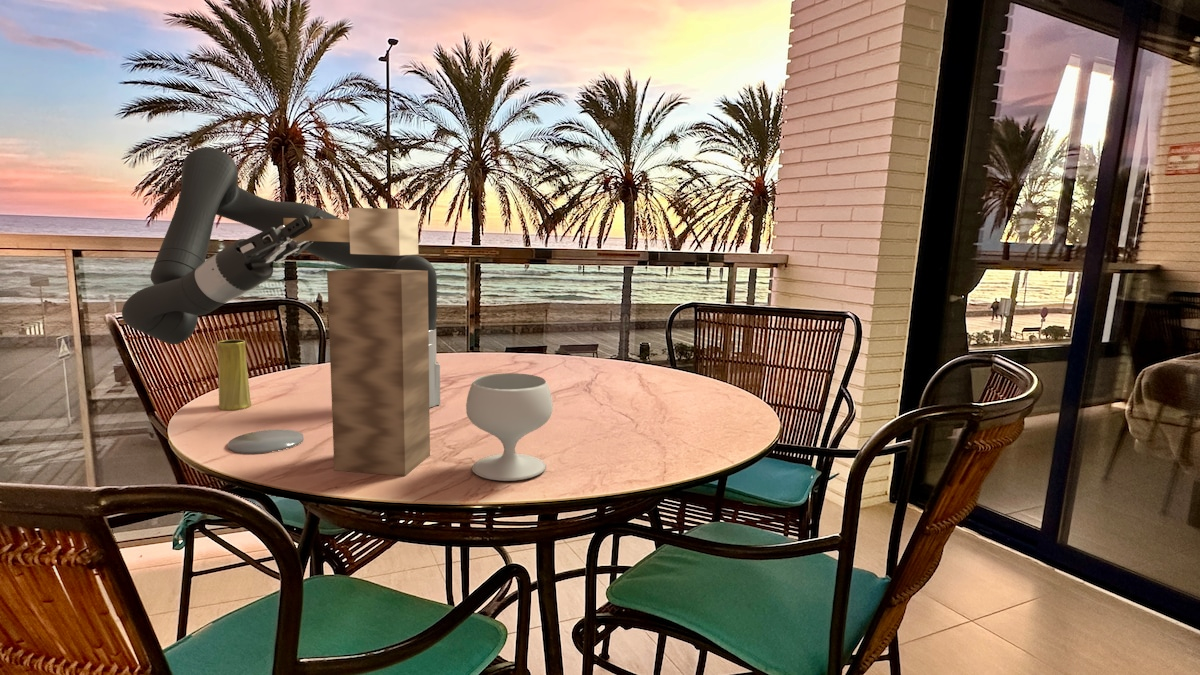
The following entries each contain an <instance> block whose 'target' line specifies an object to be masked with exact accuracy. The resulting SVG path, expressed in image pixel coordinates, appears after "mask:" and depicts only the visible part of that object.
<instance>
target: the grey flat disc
mask: <svg viewBox="0 0 1200 675" xmlns="http://www.w3.org/2000/svg"><path fill="white" fill-rule="evenodd" d="M301 442H302V443H303V442H304V434H303V433H302V432H300V431H298V430H293V429H280V428H279V429H267V430H265V429H264V430H257V431H253V432H248V433H245V434H244V433H243V434H240V435H238V436H235V437H233V438H232V439H231V440H229V441H228V444H227V446H228V450H230V451H231V452H234V453H237V454H244V455H245V454H246V455H247V454H248V455H258V454H257V453H261V454H266V453H265V452H271V453H273V452H272V451H277V452H279V451H278V450H282V451H284V450H283V449H286V448H289V449H291V448H290V447H292V448H294V447H293V446H295V445H297V446H299V445H300V444H302V443H301ZM299 443H300V444H299ZM298 444H299V445H298ZM295 447H296V446H295ZM286 450H287V449H286Z"/></svg>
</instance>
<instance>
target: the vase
mask: <svg viewBox="0 0 1200 675" xmlns="http://www.w3.org/2000/svg"><path fill="white" fill-rule="evenodd" d="M216 352H217V362H218V363H217V364H218V371H217V372H218V409H219V410H220V411H221V410H222V411H237V410H238V411H240V410H245V409H247V408H250V407H251V406H252V402H251V401H252V400H251V393H250V385H249V384H250V381H249V374H248V372H249V371H248V363H247V349H246V340H244V339H224V340H218V341H217V342H216ZM244 408H245V409H244ZM239 409H240V410H239Z"/></svg>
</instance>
